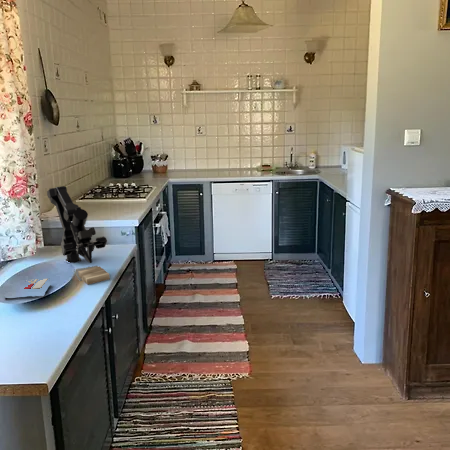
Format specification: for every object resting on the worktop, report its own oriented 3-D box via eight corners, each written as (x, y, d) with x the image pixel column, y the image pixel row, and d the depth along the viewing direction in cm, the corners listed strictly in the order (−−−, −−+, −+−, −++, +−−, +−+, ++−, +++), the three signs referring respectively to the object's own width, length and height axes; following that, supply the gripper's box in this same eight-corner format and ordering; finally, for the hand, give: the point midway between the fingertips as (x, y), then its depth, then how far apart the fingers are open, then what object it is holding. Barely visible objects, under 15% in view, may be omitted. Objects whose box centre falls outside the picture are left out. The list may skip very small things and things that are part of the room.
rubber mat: (73, 270, 213) (73, 269, 213) (97, 266, 217) (97, 265, 217) (79, 281, 199) (79, 281, 198) (104, 277, 203) (103, 276, 203)
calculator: (12, 280, 194) (49, 276, 194) (15, 290, 195) (51, 286, 195) (2, 291, 183) (41, 287, 184) (4, 301, 184) (43, 297, 185)
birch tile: (78, 271, 203) (86, 279, 194) (99, 266, 208) (109, 273, 199) (78, 276, 204) (87, 284, 194) (100, 271, 209) (109, 279, 199)
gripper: (60, 226, 197) (71, 257, 191) (103, 218, 207) (115, 248, 201) (57, 239, 205) (68, 270, 199) (99, 232, 215) (110, 261, 209)
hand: (90, 262), depth 202 cm, fingers closed
